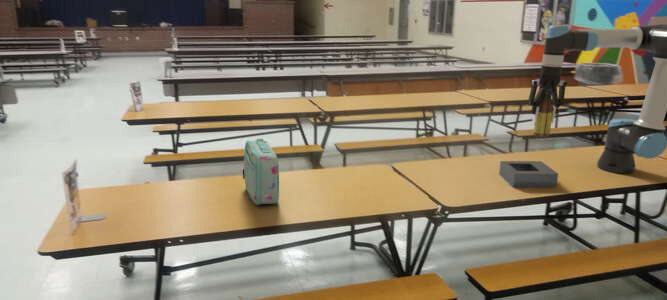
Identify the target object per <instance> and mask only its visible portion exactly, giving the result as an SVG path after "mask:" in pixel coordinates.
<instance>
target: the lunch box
mask: <svg viewBox="0 0 667 300" xmlns="http://www.w3.org/2000/svg"><path fill="white" fill-rule="evenodd" d="M243 152H244V153H243V156H244V157H243V169H242V180H244V184H245V189H246V191H247V193H248V195H249V198H250V199H251V200H252V202H253V204H254V205H256V206H260V205H268V204H270V205H272V204H273V205H274V204H278V203H279V200H280V199H279V197H280V170H279V169H280V168H279V158H278V156H277V154H276V153H275V151H274V150H273V148H272V147H271V145H270V144H269V142H268V141H267V140H264V139H263V138H256V139H255V140H246V142H245V146H244V150H243Z"/></svg>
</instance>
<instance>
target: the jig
mask: <svg viewBox="0 0 667 300" xmlns="http://www.w3.org/2000/svg"><path fill="white" fill-rule="evenodd" d="M498 171H499V173H498V175H500V176H501V177H502V179H504V180H505V182H507V183H508V185H510V186H511V187H512V188H553V189H554V188H557V185H558V179H559V173H558V172H557V171H555V170H554V169H553V168H552V167H550V166H548V165H547V164H546V163H544V162H543V161H541V160H540V161H538V160H537V161H536V160H533V161H531V160H529V161H527V160H524V161H521V160H520V161H519V160H500V163H499V170H498Z"/></svg>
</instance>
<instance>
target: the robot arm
mask: <svg viewBox="0 0 667 300" xmlns="http://www.w3.org/2000/svg"><path fill="white" fill-rule="evenodd" d="M544 42H545V43H544V50H543V54H542V61H541V64H542V65H541V67H540V72H539V73H540V75H539V77H538V79H532V80H531V88H530V92H529V97H528V102H527V104H528V105H530V106H532V107H531V115H532V119H531V121H532V122H533V123H534V124H535V123H537V117H538V111H539V107H538V104H539V102H540V99H541V97H542V95H543V93H544V92H545V91H546V89H553V92H552V95H551V101H552V103H553V110H552V111H553V113H552V120H551V124H554V122H555V121H554V120H555V116H556V115H558V110H559V108H561V106H562V107H564V105H565V103H564V102H565V93H566V92H565V91H566V87H567V85H568V82H567V81H566V80H563V79H561V74H562V71H563V70H562V69H563V67H562V66H563V64H564V59H565V58H564V57H565V53H566V51H573V52H574V51H577V52H578V51H580V52H588V51H589V52H591V51H593V50H595V49H596V48H600V49H601V48H628V49H629V50H631V51H634V50H637V51H645V52H647V53H648V52H649V53H653V55H652V59H653V61H655V63H654V68H653V70H652V73H651V78H650V80H649V85H648V87H647V90H646V94H645V96H644V97H645V98H644V100H643V104H642V106H641V109H640V113H639V117H638V118H637V119H629V118H627V119H626V118H613V119H610V121H609V123H608V127H607V132H606V138H605V143H604V147H603V148H604V149H603V151H602V153H601V155H600V156H599V158H598V159H597V164H596V166H597V168H599V169H601V170H603V171H606V170H607V171H606V172H609V171H611V173H614V172H616V173H615V174H624V173H627V174H633V173H635V171H636V163H635V162H636V161H635V155H636V156H637V157H640V158H643V159H647V160H648V159H650V160H651V159H654V158H657V157H658V156H660V155H662V154H663V153H664V152H665V151H666V149H667V136H666V135H665V133H666V132H665V131H666V126H665V125H664V124H663V123H664V120H665V117H666V114H667V24H661V23H660V24H652V25H644V26H643V25H641V26H639V25H638V26H633V27H631V28H598V29H597V28H593V29H590V28H586V29H585V28H584V29H583V28H582V29H581V28H580V29H578V28H577V29H576V28H575V29H570V28H569V25H561V24H560V25H558V24H557V25H556V24H552V25H551V24H550V25H549V26H548V27H547V31H546V34H545V41H544ZM539 85H540V86H539ZM558 85H559V86H558ZM538 86H539V87H538ZM557 86H558V87H559V88H558V89H557ZM537 90H538V91H537Z"/></svg>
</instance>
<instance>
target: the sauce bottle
mask: <svg viewBox="0 0 667 300" xmlns="http://www.w3.org/2000/svg"><path fill="white" fill-rule="evenodd" d="M552 92H553V89H546V91H545V92H544V93H543V95H542V97H541V99H540V102H539V104H538V107H539V111H538V117H537V123H535V122H534V125H533V135H534V136H535V137H538V138H548V137H550V132H551V126H552V123H551V120H552V113H553V111H552V110H553V106H554V105H553V100H552Z"/></svg>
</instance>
